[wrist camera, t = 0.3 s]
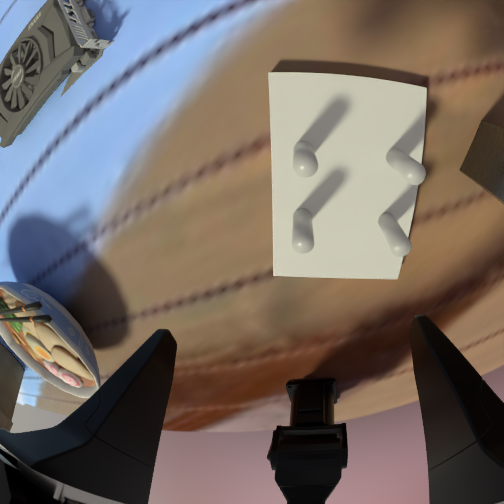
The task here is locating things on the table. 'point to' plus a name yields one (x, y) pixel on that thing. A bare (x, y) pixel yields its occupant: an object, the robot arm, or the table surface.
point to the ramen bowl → (48, 339)
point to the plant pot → (8, 386)
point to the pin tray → (344, 173)
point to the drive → (487, 159)
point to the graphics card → (45, 62)
